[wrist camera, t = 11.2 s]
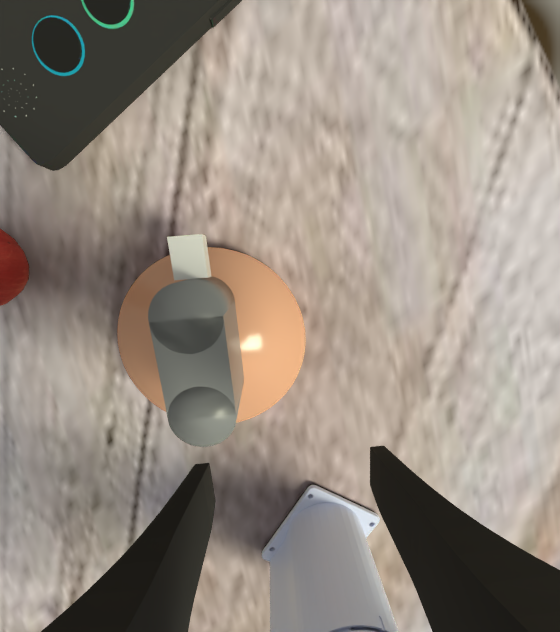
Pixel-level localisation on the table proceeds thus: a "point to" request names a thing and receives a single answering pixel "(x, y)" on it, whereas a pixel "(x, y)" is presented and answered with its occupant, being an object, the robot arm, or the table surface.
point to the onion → (11, 268)
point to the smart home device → (87, 64)
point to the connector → (197, 346)
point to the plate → (253, 326)
